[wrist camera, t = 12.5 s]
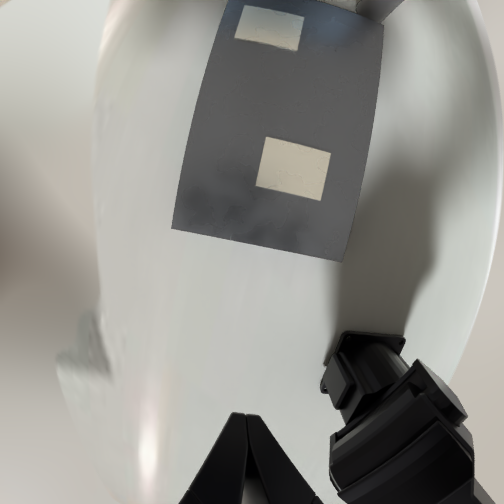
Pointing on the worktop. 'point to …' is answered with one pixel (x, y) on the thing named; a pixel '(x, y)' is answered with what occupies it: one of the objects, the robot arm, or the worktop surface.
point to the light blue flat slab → (376, 8)
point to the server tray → (282, 127)
